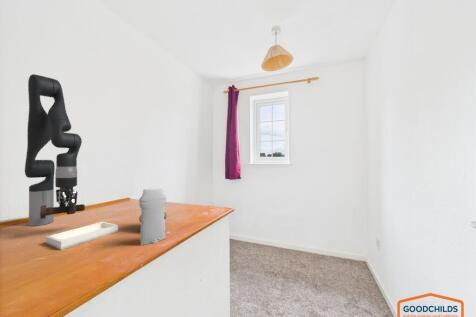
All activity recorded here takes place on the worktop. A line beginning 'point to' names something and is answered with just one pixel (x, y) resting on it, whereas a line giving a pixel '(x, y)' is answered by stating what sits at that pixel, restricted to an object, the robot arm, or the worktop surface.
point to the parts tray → (80, 235)
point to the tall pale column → (152, 215)
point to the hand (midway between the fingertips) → (66, 212)
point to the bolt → (59, 210)
